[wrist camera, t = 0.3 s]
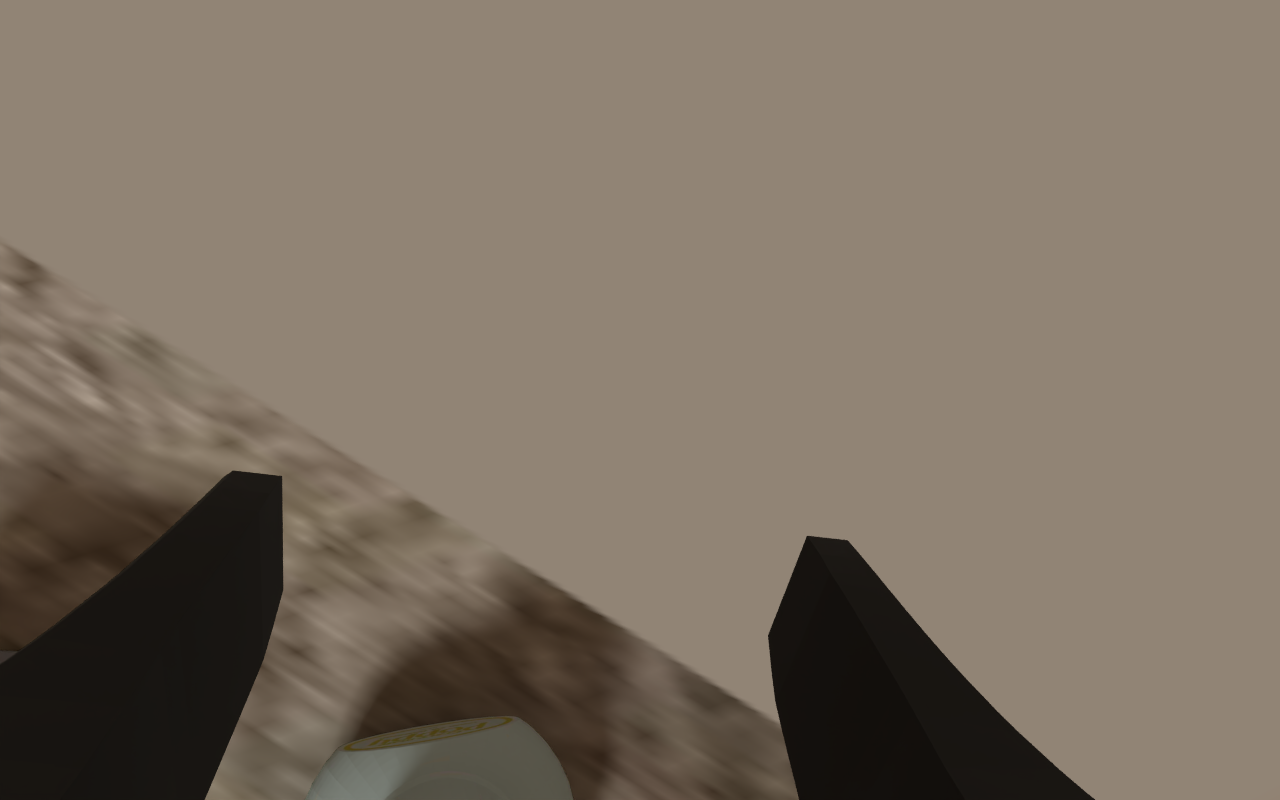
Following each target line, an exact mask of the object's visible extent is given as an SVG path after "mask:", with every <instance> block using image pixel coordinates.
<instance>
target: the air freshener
mask: <svg viewBox="0 0 1280 800" xmlns="http://www.w3.org/2000/svg"><path fill="white" fill-rule="evenodd" d="M305 800H574V799H573V796H572V792H571V788H570V785H569V781H568V779H567V777H566V775H565V772H564V770H563V768H562V766H561V764H560V762H559V760H558V758H557V757H556V755H555V754H554V753H553V751H552V750H551V748H550V747H549V745H548V744H547V742H546V741H545V740H544V739H543V738H542V737H541V736H540V735H539V734H538V733H537V732H536V731H535V730H534V729H533V728H532V727H531V726H530V725H528V724H527V723H526V722H524V721H523V720H521V719H520V718H519V717H515V716H494V717H482V718H472V719H464V720H457V721H449V722H443V723H436V724H430V725H424V726H419V727H413V728H408V729H403V730H398V731H393V732H388V733H384V734H379V735H375V736H371V737H367V738H364V739H360V740H356V741H353V742H350V743H347V744H345V745H342V746H340V747H339V748H338V749H337V750H336V751H335V752H334V753H333V754H332V756H331V757H330V758H329V759H328V760H327V761H326V763H325V764H324V766H323V768H322V769H321V771H320V772H319V774H318V775H317V777H316V779H315V780H314V782H313V783H312V786H311V788H310V790H309V792H308V795H307V797H306V799H305Z"/></svg>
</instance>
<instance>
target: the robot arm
mask: <svg viewBox="0 0 1280 800" xmlns="http://www.w3.org/2000/svg"><path fill="white" fill-rule="evenodd" d="M282 592H283V518H282V476H276V475H268V474H259V473H250V472H241V471H232V472H230V473H229V474H227V475H226V476H224V477H223V478H222V479H221V480H220V481H219V482H218V483H217V484H216V485H215V486H214V487H213V488H212V489H211V490H210V491H209V492H208V493H207V494H206V495H205V496H204V497H203V498H202V499H201V500H200V501H199V502H198V503H197V504H196V505H194V506H193V507H192V508H191V509H190V510H189V511H188V512H187V513H186V514H185V515H184V516H183V517H182V518H181V519H180V520H179V521H177V522H176V523H175V524H174V525H173V526H172V527H171V528H170V529H169V530H168V531H167V532H166V533H164V534H163V535H162V536H161V537H160V538H159V539H158V540H157V541H156V542H154V543H153V544H152V545H151V546H150V547H149V548H148V549H146V550H145V551H144V552H143V553H142V554H141V555H139V556H138V557H137V558H136V559H135V560H134V561H133V562H131V563H130V564H129V565H128V566H127V567H126V568H125V569H123V570H122V571H121V572H120V573H119V574H118V575H116V576H115V577H114V578H113V579H112V580H111V581H109V582H108V583H107V584H106V585H104V586H103V587H102V588H101V589H99V590H98V591H97V592H96V593H94V594H93V595H92V596H90V597H89V598H88V599H87V600H85V601H84V602H83V603H82V604H80V605H79V606H78V607H77V608H75V609H74V610H73V611H71V612H70V613H69V614H68V615H66V616H65V617H64V618H63V619H61V620H60V621H59V622H57V623H56V624H55V625H54V626H52V627H51V628H50V629H48V630H47V631H46V632H44V633H43V634H41V635H40V636H39V637H37V638H36V639H35V640H33V641H32V642H30V643H29V644H28V645H26V646H25V647H24V648H22V649H21V650H19V651H18V652H16V653H15V654H14V655H12V656H11V657H9V658H8V659H6V660H5V661H3V662H2V663H1V664H0V800H205V798H206V795H207V793H208V791H209V788H210V786H211V783H212V781H213V779H214V776H215V774H216V772H217V769H218V767H219V765H220V762H221V760H222V757H223V755H224V753H225V750H226V748H227V746H228V743H229V741H230V739H231V736H232V734H233V732H234V729H235V727H236V724H237V722H238V720H239V717H240V715H241V713H242V710H243V708H244V705H245V703H246V701H247V698H248V696H249V693H250V691H251V689H252V686H253V684H254V681H255V679H256V677H257V674H258V672H259V669H260V667H261V664H262V662H263V659H264V656H265V652H266V649H267V646H268V642H269V639H270V635H271V632H272V629H273V625H274V621H275V618H276V614H277V611H278V607H279V603H280V600H281V596H282ZM768 639H769V649H770V660H771V669H772V678H773V686H774V694H775V701H776V706H777V710H778V714H779V719H780V723H781V728H782V732H783V736H784V740H785V744H786V748H787V752H788V757H789V761H790V764H791V768H792V772H793V776H794V780H795V784H796V788H797V792H798V796H799V800H1095V799H1094V798H1092V797H1091V796H1090V795H1089V794H1087V793H1086V792H1085V791H1084V790H1083V789H1081V788H1080V787H1079V786H1078V785H1077V784H1076V783H1074V782H1073V781H1072V780H1071V779H1070V778H1068V777H1067V776H1066V775H1065V774H1064V773H1063V772H1062V771H1060V770H1059V769H1058V768H1057V767H1056V766H1055V765H1054V764H1053V763H1052V762H1050V761H1049V760H1048V759H1047V758H1046V757H1045V756H1044V755H1043V754H1042V753H1041V752H1040V751H1038V750H1037V749H1036V748H1035V747H1034V746H1033V745H1032V744H1031V743H1030V742H1029V741H1027V740H1026V739H1025V738H1024V737H1023V736H1022V735H1021V734H1020V733H1019V732H1018V731H1017V730H1015V728H1014V727H1013V726H1012V725H1011V724H1010V723H1009V722H1007V721H1006V720H1005V719H1004V718H1003V717H1002V716H1001V715H1000V714H999V713H998V712H997V711H996V710H995V709H994V707H992V706H991V704H990V703H989V702H988V701H987V700H986V699H985V698H984V697H983V696H982V695H981V694H980V693H979V692H978V691H977V690H976V689H975V688H974V687H973V686H972V684H970V682H969V681H968V680H967V679H966V678H965V677H964V676H963V675H962V674H961V673H960V672H959V671H958V670H957V668H956V667H955V666H954V665H953V664H952V663H951V662H950V661H949V660H948V658H947V657H946V656H945V655H944V654H943V653H942V652H941V651H940V649H939V648H938V647H937V646H936V645H935V644H934V643H933V641H932V640H931V639H930V638H929V637H928V636H927V635H926V633H925V632H924V631H923V630H922V629H921V627H920V626H919V625H918V624H917V623H916V622H915V620H914V619H913V618H912V617H911V616H910V614H909V613H908V612H907V611H906V610H905V608H904V607H903V606H902V605H901V604H900V602H899V601H898V600H897V599H896V598H895V596H894V595H893V594H892V593H891V592H890V590H889V589H888V588H887V587H886V586H885V584H884V583H883V582H882V581H881V579H880V578H879V577H878V576H877V575H876V573H875V572H874V571H873V570H872V569H871V567H870V566H869V565H868V564H867V562H866V561H865V560H864V559H863V558H862V557H861V555H860V554H859V553H858V552H857V551H856V549H855V548H854V547H853V546H852V545H851V544H850V543H849V541H847V540H840V539H831V538H822V537H813V536H807V537H806V540H805V543H804V545H803V548H802V551H801V553H800V555H799V558H798V560H797V563H796V566H795V568H794V571H793V573H792V576H791V578H790V581H789V584H788V586H787V589H786V591H785V594H784V596H783V599H782V601H781V604H780V606H779V609H778V612H777V614H776V617H775V619H774V622H773V624H772V627H771V630H770V632H769V635H768Z"/></svg>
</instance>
